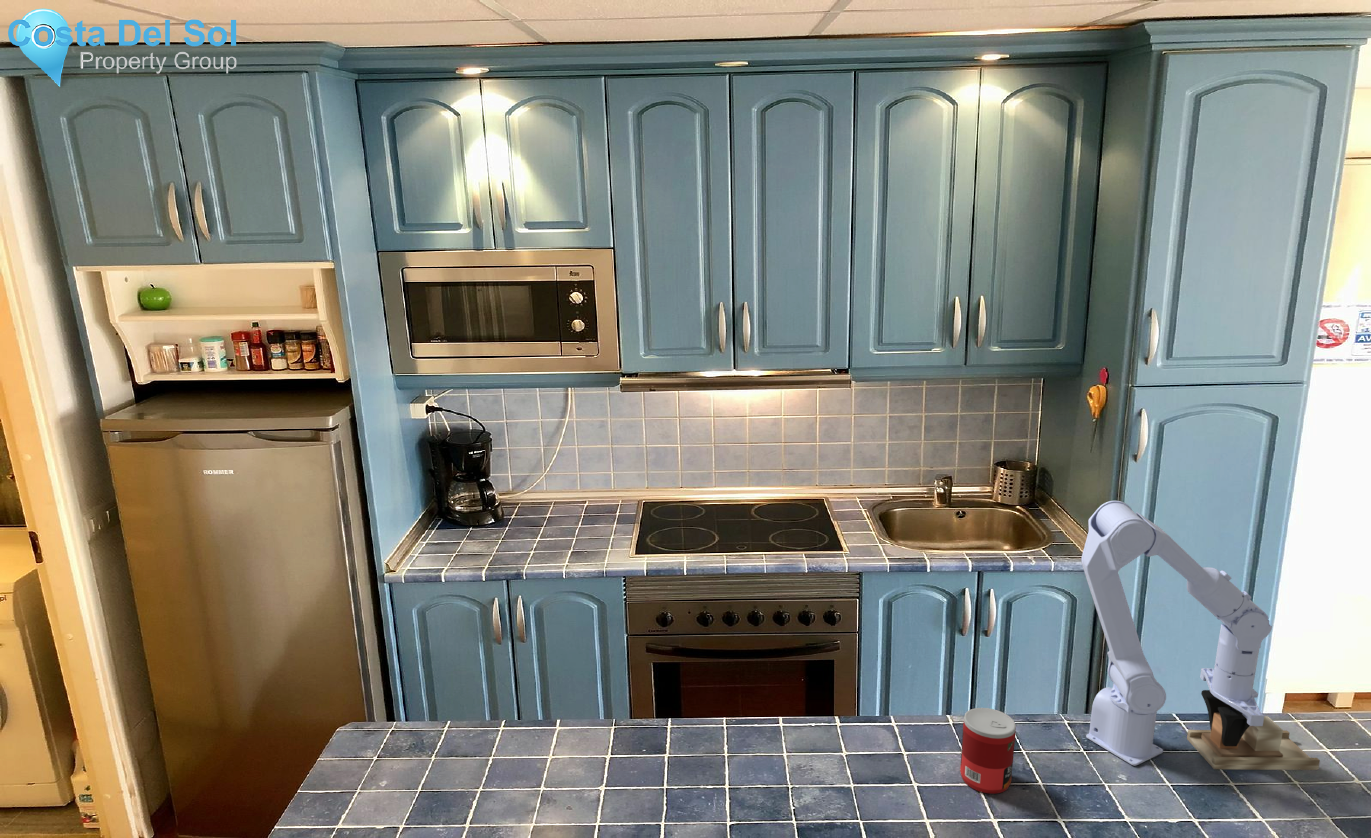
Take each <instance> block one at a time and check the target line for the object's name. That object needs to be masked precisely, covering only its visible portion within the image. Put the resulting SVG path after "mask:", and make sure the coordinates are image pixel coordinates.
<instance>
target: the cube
mask: <svg viewBox="0 0 1371 838" xmlns="http://www.w3.org/2000/svg"><path fill="white" fill-rule="evenodd" d="M1282 733H1283V729H1282V727H1281V726H1279V725H1278V724H1277V723H1276V722H1275V721H1273V720H1272V718H1270V717H1269V716H1268V715H1264V721H1263V726H1249V727H1248V728H1247V730H1246V731H1245V732H1244V734H1243V736H1242V738H1243V739H1244V740H1245V741H1246V742H1247V743H1248V744H1249V745H1250V746H1251V747H1252V748H1253V749H1254V750H1255V751H1279V750H1280V745H1281V739H1282Z"/></svg>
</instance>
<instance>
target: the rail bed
mask: <svg viewBox="0 0 1371 838" xmlns="http://www.w3.org/2000/svg"><path fill="white" fill-rule="evenodd" d="M1282 730H1283V729H1282ZM1202 733H1211V729H1188V730H1187V736H1186V740H1187V741H1188V742H1189V743H1190V744H1191V746H1193V748H1194V749H1195V750H1197V752H1198V753H1199V754H1200V755H1201V756H1202V758H1203V759H1204V760H1205V761H1206V762H1207V763H1208V764H1209V765H1210V766H1211V768H1212V769H1213V770H1251V771H1252V770H1253V771H1254V770H1258V771H1259V770H1261V771H1262V770H1264V771H1265V770H1266V771H1267V770H1269V771H1270V770H1271V771H1274V770H1275V771H1276V770H1277V771H1286V770H1289V771H1318V770H1319V768H1320V762H1321V760H1320V759H1319V758H1318V757H1310V756H1309V755H1308V754H1307V753H1306V752H1304V751H1305V750H1303V749H1302V748H1300V746H1298V745H1297V744H1296V743H1295V742H1294V741H1293V740H1292V739H1290V731H1288V730H1287V729H1286V730H1285V729H1284V730H1283V733H1282V739H1281V745H1280V750H1279V751H1280V752H1281V753H1282V754H1283V757H1218V756H1217V754H1216V753H1215V752H1214V751H1213V750H1212V749H1211V748H1210V747H1209V746H1208V745H1207V744H1206V743H1205V741H1204V740H1203V739H1202V738H1201V736H1202Z"/></svg>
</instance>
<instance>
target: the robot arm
mask: <svg viewBox="0 0 1371 838" xmlns="http://www.w3.org/2000/svg"><path fill="white" fill-rule="evenodd" d="M1087 523H1088V533H1087V534H1086V535H1087V536H1086V540H1085V544H1084V546H1083V551H1082V554H1081V559H1080V561H1081V566H1082V568H1083V573H1084V575H1085V578H1086V582H1087V584H1088V588H1089V590H1090V591H1089V592H1090V594H1091V597H1092V600H1093V603H1094V606H1095V609H1096V613H1097V615H1098V619H1099V622H1100V625H1101V628H1102V631H1103V634H1104V637H1105V640H1106V645H1107V647H1108V651H1107V657H1108V665H1107V666H1108V667H1107V675H1108V677H1109V679H1110V681H1111V682H1112V687H1104V688H1102V689H1101V690H1100V691H1098V693H1097V694H1096V695H1095V697H1094V700H1093V702H1092V706H1091V713H1090V714H1091V715H1090V722H1089V723H1090V724H1089V733H1087V734H1086V735H1085V737H1086V739H1088V740H1090V741H1091V742H1093V743H1095V744H1096V745H1099V747H1101V748H1103V749H1105V750H1106V751H1108V752H1110V753H1112V755H1115V756H1116V757H1118V758H1120V759H1121V760H1122V761H1125V762H1126V763H1128V764H1129V765H1131V766H1133V767H1134V766H1135V767H1136V766H1138V765H1140V764H1143V763H1144V762H1146V761H1148V760H1150V759H1152V758H1155V757H1157V756H1160V755H1161V754H1163V753H1164V749H1163V748H1161V747H1160V746H1158V745H1156V744H1155V743H1154V735H1155V729H1156V728H1155V727H1156V720H1157V714H1158V711H1159V710H1161V709H1162V708H1163V706H1164V705H1165V703H1166V700H1167V692H1166V690H1165V688H1164V687H1163V685H1162V684H1160V683H1159V681H1157V679H1156V678H1155V676H1154V675H1155V674H1154V672H1153V670H1152V668H1151V666H1150V664H1149V662H1148V661H1147V659H1146V656H1145V654H1144V651H1143V647H1142V645H1141V642H1140V639H1139V635H1138V632H1137V630H1136V629H1137V628H1136V626H1135V622H1134V620H1133V616H1132V612H1131V610H1130V605H1129V604H1128V600H1127V597H1126V593H1125V591H1124V588H1123V584H1122V580H1121V578H1120V575H1119V571H1120V570H1121V569H1123V567H1125V566H1127V565H1128V564H1130V563H1131V562H1133V561H1134V560H1135V559H1137V558H1139V557H1140V556H1141V555H1143V554H1144V555H1145V557H1153V556H1154V557H1155V556H1158V557H1159V558H1160V559H1162V560H1163V561H1164V562H1166V563H1167V565H1169V566H1170V567H1171V568H1172V569H1174V570H1175V571H1176V572H1177V573H1179V574H1180V575H1181V576H1182V577H1183V578H1184V579H1186V590H1187V592H1188V594H1190V595H1191V597H1193V598H1194V599H1195V600H1197V602H1199V604H1201V605H1202V606H1203V607H1204V608H1205V609H1206V610H1208V612H1210V613H1211V614H1212V616H1214V617H1216V619H1217V620H1219V621H1220V622H1222V623H1220V630H1219V636H1218V641H1217V648H1216V654H1215V661H1214V668H1213V667H1211V668H1210V667H1209V668H1208V667H1204V668H1201V669H1200V675H1199V678H1200V679H1201V680H1202V681H1204V682H1206V684H1207V686H1208V689H1202V690H1201V693H1200V694H1201V696H1202V698H1203V701H1204V703H1205V706H1206V710H1207V714H1208V722H1209V728H1210V729H1209V730H1212V723H1213V716H1214V713H1220V716H1221V721H1222V743H1223V745H1224V746H1237V745H1238V743H1239V741H1240V739H1241V737H1242V736H1243V734H1244V732H1245V731H1246V730H1247V728H1248V727H1249V726H1263V721H1264V716H1265V715H1264V714H1263V713H1262V711H1261V710H1260V709H1259V706H1258V704H1257V701H1256V700H1255V698H1256V699H1257V698H1258V697H1259V693H1258V692H1257V691H1256V690H1255V689H1254V684H1255V678H1256V672H1257V665H1258V661H1259V660H1258V659H1259V654H1260V649H1261V647H1262V646H1261V645H1262V642H1263V640H1265V639H1266V638H1267V637H1268V636H1269V635H1270V633H1271V632H1272V628H1273V626H1272V625H1271V624H1270V620H1269V618H1270V617H1269V616H1268V614H1267V613H1266V612H1265V611H1264V610H1262V608H1260V607H1259V606H1258V605H1257V604H1256V603H1255V602H1253V601H1252V600H1251V599H1252V596H1251V595H1250V594H1249V593H1248V592H1247V591H1246V590H1243V591H1241V590H1240V589H1239V588H1238V587H1237V586H1236V585H1235V584H1234V583H1233V582H1231V581H1230V580H1232V576H1230V575H1229V574H1228V573H1227V572H1226V571H1225V570H1220V571H1219V570H1218V569H1217V568H1215V567H1207V566H1206V567H1204V566H1201V565H1200V564H1199V563H1198V562H1197V560H1195V559H1194V558H1193V557H1192V556H1191V555H1190V554H1189V553H1187V552H1186V550H1184V549H1183V548H1182V546H1181V545H1179V543H1177V542H1176V541H1175V539H1173V538H1172V537H1171V536H1170V535H1169V534H1168V533H1166V532H1165V531H1164V530H1163V529H1162V528H1160V527H1159V526H1158V525H1156V524H1155V523H1154V522H1152V521H1151V520H1149V518H1147V517H1145V516H1144V515H1143V514H1141V513H1139V512H1138V511H1136V512H1135V511H1133V509H1132V507H1131V506H1130V505H1129V504H1127V503H1125V502H1123V501H1120V500H1109V501H1107V502H1104V503H1103V504H1101V505H1099V507H1097V509H1096V510H1095V511H1094V513H1093V514H1092V515H1091V516H1090V517H1089V518H1088V522H1087Z"/></svg>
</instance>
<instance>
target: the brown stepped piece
mask: <svg viewBox="0 0 1371 838" xmlns="http://www.w3.org/2000/svg"><path fill="white" fill-rule="evenodd" d="M1210 730H1211V729H1210ZM1201 738H1202V739H1203V740H1204V741H1205V743H1206V744H1207V745H1208V746H1209V747H1210V748H1211V749H1212V750H1213V751H1214V752H1215V753H1216V754H1217V756H1218V757H1283V754H1282V753H1281V752H1280V751H1255V750H1254V749H1253V748H1252V747H1251V746H1250V745H1249V744H1248V743H1247V742H1246V741H1245V740H1244V739H1243V738H1242V737H1241V739H1240V741H1239V743H1238V745H1237V746H1224V745H1223V743H1222V721H1221V716H1220V713H1214V716H1213V723H1212V730H1211V733H1202V736H1201Z"/></svg>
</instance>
